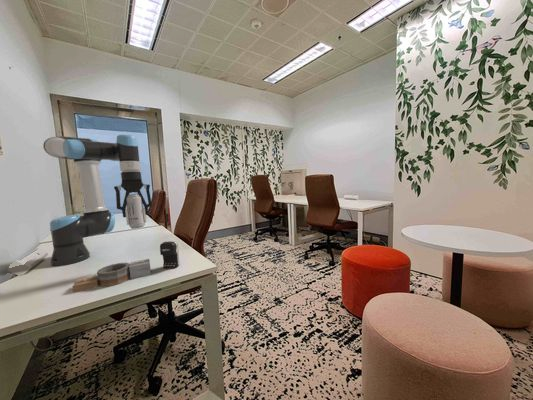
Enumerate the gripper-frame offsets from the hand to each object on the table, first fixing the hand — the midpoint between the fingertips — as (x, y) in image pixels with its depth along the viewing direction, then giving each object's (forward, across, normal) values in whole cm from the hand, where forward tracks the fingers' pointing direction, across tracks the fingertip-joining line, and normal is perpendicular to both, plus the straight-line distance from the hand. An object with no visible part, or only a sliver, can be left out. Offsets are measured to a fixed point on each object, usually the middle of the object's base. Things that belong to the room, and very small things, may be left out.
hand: (137, 223), depth 98 cm
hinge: (+20, -9, -11) cm, 24 cm away
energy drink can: (+2, 0, 0) cm, 2 cm away
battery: (+20, +11, -11) cm, 25 cm away
